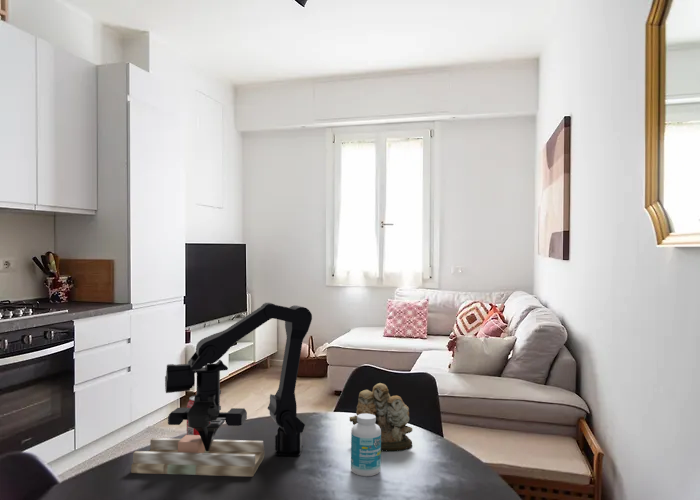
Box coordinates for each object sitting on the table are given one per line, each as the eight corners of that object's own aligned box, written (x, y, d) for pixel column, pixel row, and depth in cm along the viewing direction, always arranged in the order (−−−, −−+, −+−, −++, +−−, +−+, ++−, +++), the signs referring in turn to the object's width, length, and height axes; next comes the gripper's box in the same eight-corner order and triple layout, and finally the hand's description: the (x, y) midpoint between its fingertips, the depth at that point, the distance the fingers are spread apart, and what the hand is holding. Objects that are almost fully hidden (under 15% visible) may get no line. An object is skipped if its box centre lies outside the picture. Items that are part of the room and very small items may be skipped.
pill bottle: (359, 480, 116) (360, 422, 116) (345, 468, 122) (345, 413, 123) (386, 474, 119) (386, 418, 120) (371, 462, 126) (371, 410, 126)
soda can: (215, 435, 145) (215, 394, 146) (206, 443, 138) (206, 401, 139) (192, 434, 146) (193, 393, 147) (182, 442, 139) (182, 400, 140)
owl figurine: (346, 450, 135) (346, 387, 135) (351, 435, 146) (351, 378, 147) (412, 453, 132) (412, 389, 133) (412, 438, 144) (412, 380, 145)
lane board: (264, 456, 129) (264, 439, 129) (252, 476, 117) (253, 457, 117) (153, 453, 131) (153, 436, 131) (131, 472, 119) (131, 454, 119)
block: (204, 452, 126) (204, 435, 127) (197, 460, 121) (197, 442, 122) (185, 452, 127) (185, 434, 127) (177, 460, 122) (178, 441, 122)
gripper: (158, 396, 117) (157, 462, 116) (235, 397, 116) (235, 464, 115) (177, 385, 128) (176, 445, 128) (247, 386, 127) (247, 446, 127)
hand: (207, 450), depth 124 cm, fingers closed
